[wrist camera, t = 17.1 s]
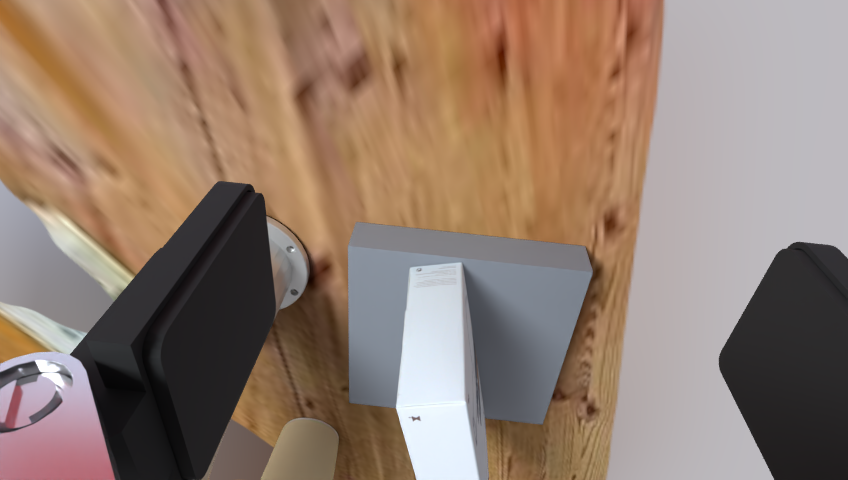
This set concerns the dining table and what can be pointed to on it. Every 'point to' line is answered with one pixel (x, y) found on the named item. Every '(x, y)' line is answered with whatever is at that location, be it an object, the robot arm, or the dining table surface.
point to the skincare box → (441, 379)
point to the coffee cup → (304, 452)
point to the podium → (489, 310)
